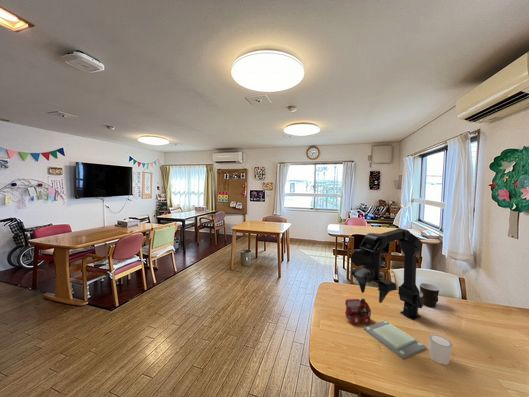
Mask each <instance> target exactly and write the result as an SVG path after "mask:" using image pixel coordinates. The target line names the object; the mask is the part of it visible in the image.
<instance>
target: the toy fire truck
mask: <svg viewBox="0 0 529 397" xmlns="http://www.w3.org/2000/svg"><path fill="white" fill-rule="evenodd" d="M344 302H345V317H346V318H347V319H348V320H349V319H350V322H351V324H353V325H354V326H357V325H359V324H360V322H362V323H363V325H366V326H367V325H369V324H371V319H372V318H371V315H372V314H371V313H372V311H371V308H370V305H369V303H368V302H367V301H366V299H365V298H361V299H360V298H352V299H351V298H349V299H346V300H345V301H344Z"/></svg>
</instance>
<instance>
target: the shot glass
mask: <svg viewBox="0 0 529 397" xmlns="http://www.w3.org/2000/svg"><path fill="white" fill-rule="evenodd" d="M428 342H429V344H428V345H429V346H428V347H429V356H430V358H431V359H432V360H433V361H434V362H436V363H438V364H440V365H445V366H446V365H449V363H450V360H451V354H452V350H453V343H452V342H451V341H450V340H449V339H447V338H446V337H444V336H441V335H438V334H430V335H429V336H428Z"/></svg>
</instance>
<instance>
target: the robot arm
mask: <svg viewBox="0 0 529 397" xmlns="http://www.w3.org/2000/svg"><path fill="white" fill-rule="evenodd" d="M396 241H398V242H399V246H400V250H401V251H402V253H403V283H402V284H400V285H399V286H398V297H399V300H400V301H403V310H402V311H400V314H402V315H403V316H405V317H407V318H409V319H410V320H413V321H414V320H417V319H419V318H422V316H421V315H420V314H419V309H423V306H424V301H423V300H422V299H421V297H420V288H418V286H417V284H416V283H417V282H416V281H417V279H416V278H417V257H418V255H419V254H420V252H421V250H422V247H423V243H422V240H421V239H420V238H419V237H418V236H416V235H414V234H413V233H411V232H410V230H408V229H404V228H400V227H398V228H396V229H394V230H389V231H386V232H382V233H377V232H376V233H374V232H373V233H372V232H371V233H370V232H369V233H366V235H365V236H364V238H363V239H362V241H361V243H360V244H359V245H358V246H359V247H358V248H357V249H354V252H353V253H351V256H350V260H351V263H352V265H353V266H355V267H357V268H353V269H352V270H351V276H353V278H354V279H355V280H356V281H357V282H358V285H359V290H360V292H361V294H365V289H366V286H367V283H372V282H373V283H376V284H377V286H378V288H377V290H378V292H379V293H378V295H379V296H378V302H379V304H382V303H383V302H384V300H385V298H386V296H387V295H388V294H389V293H390V292H393V291H396V290H397V283H395V282H394V281H392V280H390V279H382V277H383V275H382V274H381V270H382V269H383V266H382V265H381V257H382V254H385V250H384V248H385V247H386V246H387V244H389V243H393V242H396ZM361 266H362V267H361Z"/></svg>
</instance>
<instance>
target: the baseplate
mask: <svg viewBox="0 0 529 397" xmlns="http://www.w3.org/2000/svg"><path fill="white" fill-rule="evenodd" d="M363 331H365V332H366V333H367V334H369V335H370V336H371V337H373V339H376V341H378V342H380V343H381V344H382V345H384V346H385V347H386V348H388V349H389V350H390V351H391V352H393V353H394V354H395V355H397V356H399V358H401V359H402V360H405V359H407V358H409V357H411V356H413V355H416V354H418V353H419V352H422V351H424V350H427V345H425V344H424V343H422V342H421V341H418V340H417V339H415V338H414V337H413V336H411V335H409V334H408V333H406V332H404V331H403V330H401V329H399V328H398V327H396V326H394V325H393V324H391V323H390V322H389V321H387V320H383V321H380V322H377V323H376V322H375V323H373V324H371V325H368V326H367V325H366V326H364V327H363Z"/></svg>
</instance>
